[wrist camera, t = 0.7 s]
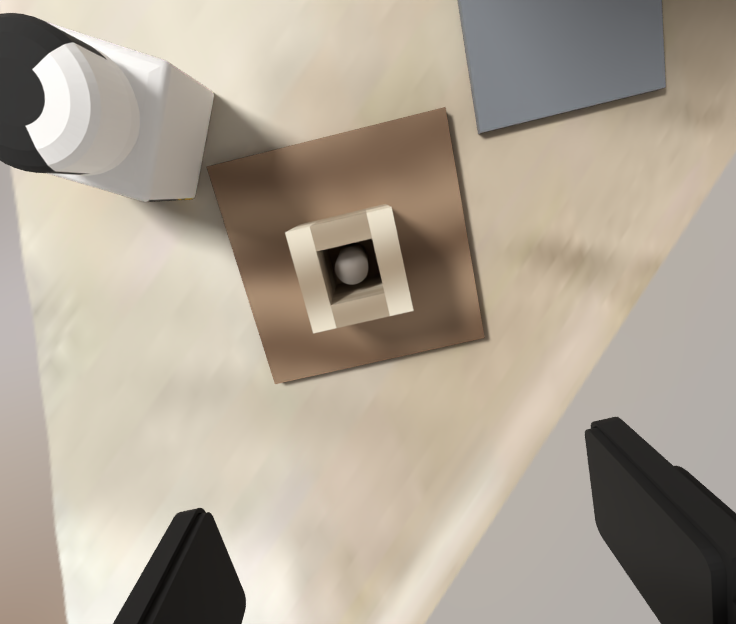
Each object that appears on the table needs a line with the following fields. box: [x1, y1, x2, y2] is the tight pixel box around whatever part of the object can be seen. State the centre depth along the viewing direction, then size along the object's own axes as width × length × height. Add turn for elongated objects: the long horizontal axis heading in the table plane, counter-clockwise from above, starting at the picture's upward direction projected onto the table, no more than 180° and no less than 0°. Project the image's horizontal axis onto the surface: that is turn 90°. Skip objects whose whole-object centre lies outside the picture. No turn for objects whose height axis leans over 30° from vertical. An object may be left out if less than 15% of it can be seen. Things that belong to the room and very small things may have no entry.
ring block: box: [285, 204, 413, 333], centre depth 28 cm, size 6×6×6 cm
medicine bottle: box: [0, 13, 214, 202], centre depth 23 cm, size 7×7×12 cm
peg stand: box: [207, 107, 485, 384], centre depth 29 cm, size 16×16×5 cm
